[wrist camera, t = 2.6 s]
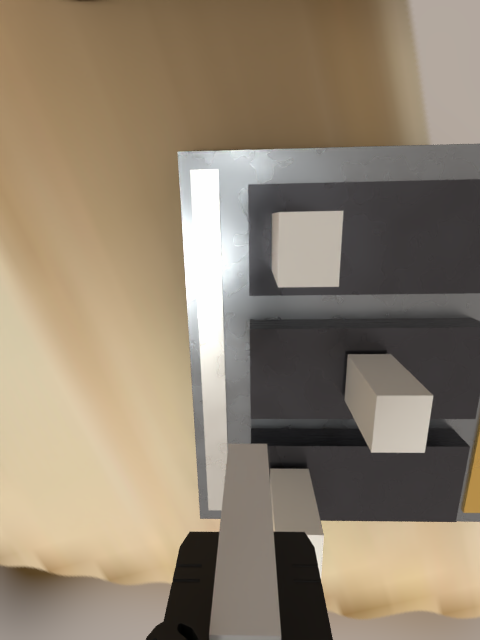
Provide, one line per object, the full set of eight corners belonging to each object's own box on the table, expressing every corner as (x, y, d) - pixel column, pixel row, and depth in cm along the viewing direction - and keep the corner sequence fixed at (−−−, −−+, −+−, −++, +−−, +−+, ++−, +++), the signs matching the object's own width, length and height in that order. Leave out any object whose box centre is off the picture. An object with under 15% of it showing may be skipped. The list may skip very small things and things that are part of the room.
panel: (185, 158, 22) (169, 144, 18) (540, 149, 22) (613, 132, 17) (204, 494, 30) (196, 541, 25) (471, 496, 29) (510, 545, 25)
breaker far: (270, 468, 23) (275, 534, 18) (308, 468, 23) (323, 535, 18) (270, 505, 24) (274, 578, 19) (307, 506, 24) (321, 579, 19)
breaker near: (271, 213, 19) (279, 211, 14) (319, 212, 18) (343, 210, 14) (271, 270, 19) (278, 287, 15) (317, 269, 19) (338, 286, 15)
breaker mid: (347, 354, 21) (377, 395, 16) (390, 354, 21) (433, 395, 16) (344, 400, 21) (371, 452, 17) (386, 400, 21) (425, 452, 17)
